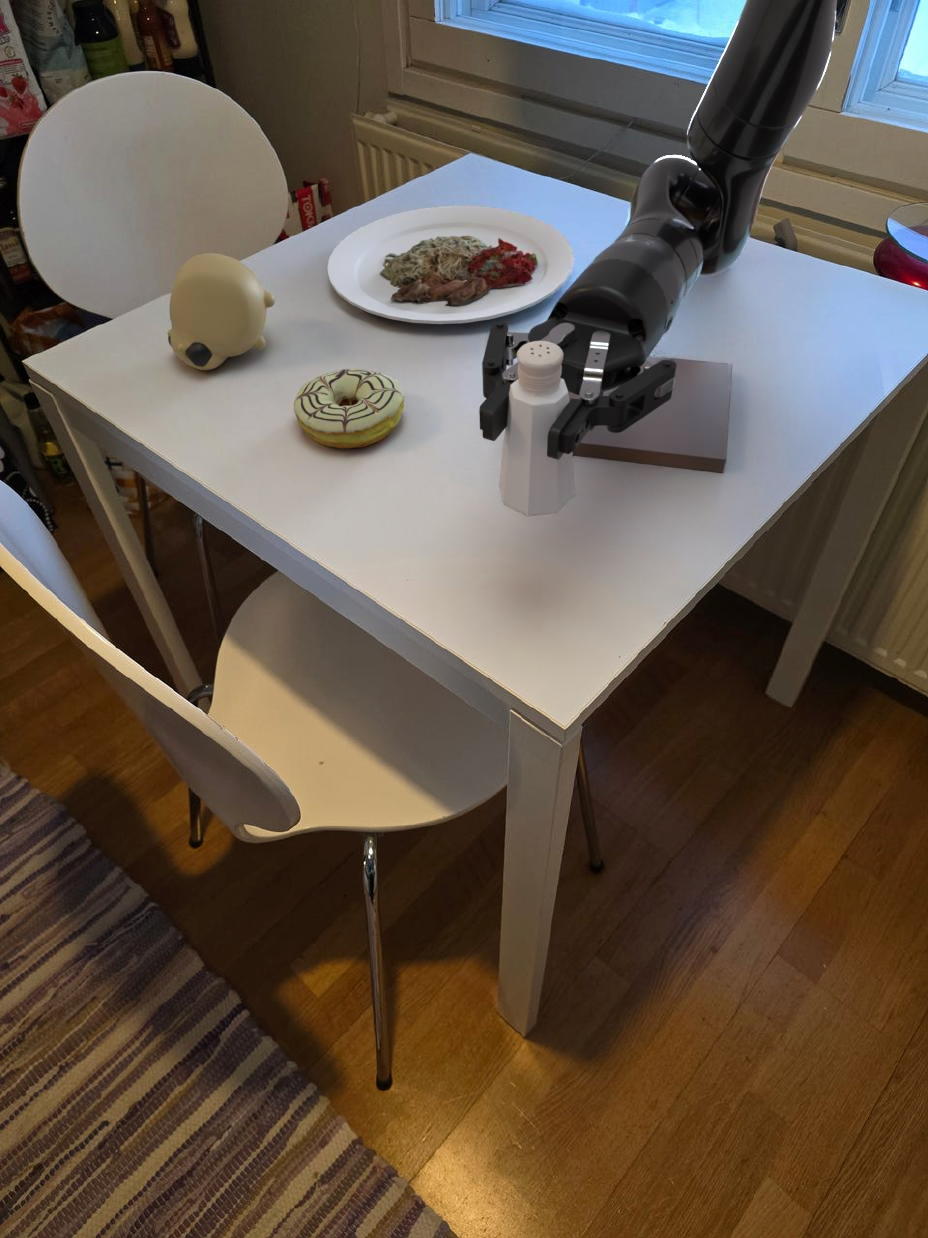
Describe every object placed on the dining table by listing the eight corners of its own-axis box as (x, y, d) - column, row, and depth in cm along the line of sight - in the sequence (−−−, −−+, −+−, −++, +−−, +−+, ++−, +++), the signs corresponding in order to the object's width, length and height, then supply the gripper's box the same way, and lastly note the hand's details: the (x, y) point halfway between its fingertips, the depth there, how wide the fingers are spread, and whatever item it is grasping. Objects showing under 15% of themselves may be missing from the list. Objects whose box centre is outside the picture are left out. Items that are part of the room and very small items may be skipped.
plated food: (308, 243, 110) (303, 216, 108) (521, 204, 116) (522, 178, 113) (361, 358, 91) (357, 329, 89) (614, 305, 96) (617, 277, 94)
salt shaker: (548, 458, 61) (553, 317, 53) (591, 500, 58) (603, 357, 49) (483, 484, 59) (478, 343, 51) (524, 528, 56) (525, 386, 48)
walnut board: (729, 376, 86) (732, 363, 85) (723, 473, 76) (726, 459, 75) (537, 357, 90) (538, 344, 89) (507, 447, 80) (507, 434, 79)
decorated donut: (355, 380, 88) (350, 348, 86) (427, 419, 83) (424, 385, 80) (277, 425, 83) (269, 392, 81) (349, 469, 78) (343, 435, 76)
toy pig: (217, 363, 98) (131, 328, 90) (261, 267, 95) (175, 222, 87) (252, 398, 93) (163, 365, 85) (300, 298, 89) (212, 253, 81)
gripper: (532, 239, 61) (415, 358, 51) (725, 276, 56) (635, 414, 47) (531, 333, 67) (424, 456, 57) (705, 374, 62) (622, 515, 52)
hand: (520, 436), depth 52 cm, fingers closed on salt shaker, 4 cm apart
